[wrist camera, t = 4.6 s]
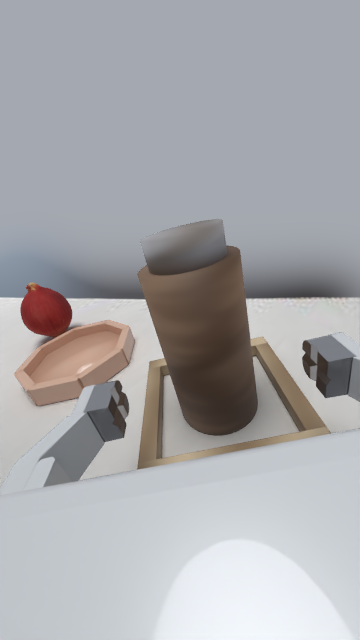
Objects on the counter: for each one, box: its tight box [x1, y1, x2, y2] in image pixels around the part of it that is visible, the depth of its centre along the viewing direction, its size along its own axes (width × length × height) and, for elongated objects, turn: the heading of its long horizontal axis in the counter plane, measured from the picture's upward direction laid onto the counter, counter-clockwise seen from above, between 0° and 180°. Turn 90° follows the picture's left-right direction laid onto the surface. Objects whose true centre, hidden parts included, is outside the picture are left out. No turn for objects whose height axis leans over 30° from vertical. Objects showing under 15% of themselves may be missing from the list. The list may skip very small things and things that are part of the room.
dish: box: [14, 320, 135, 406], centre depth 25 cm, size 11×11×2 cm
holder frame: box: [137, 337, 331, 470], centre depth 16 cm, size 10×10×1 cm
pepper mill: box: [138, 219, 257, 435], centre depth 14 cm, size 5×5×12 cm
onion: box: [21, 283, 72, 338], centre depth 31 cm, size 6×6×8 cm
